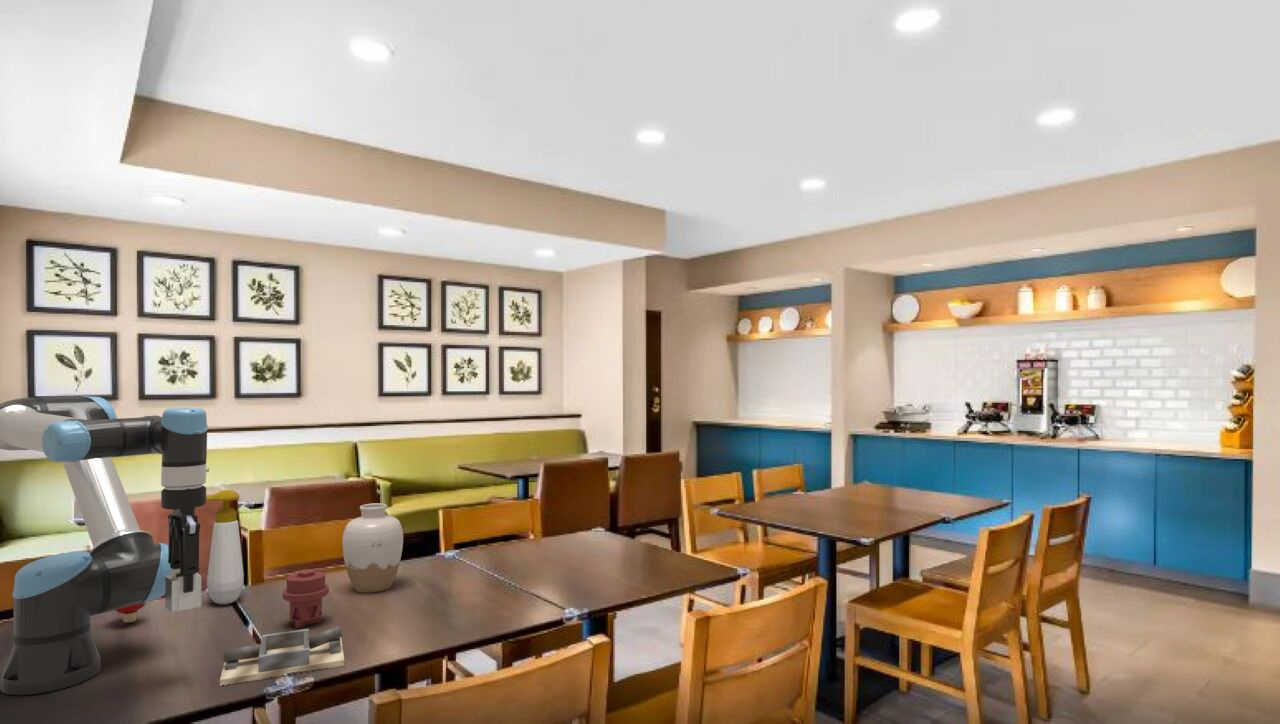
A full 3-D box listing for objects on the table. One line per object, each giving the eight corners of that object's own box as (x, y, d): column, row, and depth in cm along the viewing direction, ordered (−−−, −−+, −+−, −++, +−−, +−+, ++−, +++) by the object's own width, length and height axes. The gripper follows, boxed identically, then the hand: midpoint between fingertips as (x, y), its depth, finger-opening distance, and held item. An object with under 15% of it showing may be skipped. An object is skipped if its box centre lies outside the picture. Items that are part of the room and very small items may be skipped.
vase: (381, 576, 210) (381, 498, 210) (414, 585, 201) (415, 504, 201) (330, 589, 197) (330, 506, 197) (364, 600, 188) (364, 513, 188)
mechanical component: (337, 617, 175) (310, 632, 165) (301, 614, 177) (272, 629, 167) (337, 566, 175) (311, 578, 165) (301, 564, 177) (273, 575, 167)
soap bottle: (195, 599, 189) (196, 489, 189) (240, 592, 195) (240, 485, 195) (200, 612, 179) (200, 495, 179) (246, 604, 185) (247, 491, 185)
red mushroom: (152, 624, 170) (152, 582, 170) (116, 632, 165) (117, 588, 165) (142, 615, 177) (142, 574, 177) (107, 622, 172) (108, 580, 172)
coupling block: (171, 612, 138) (171, 578, 138) (165, 606, 141) (165, 572, 141) (201, 606, 141) (201, 572, 141) (194, 600, 145) (194, 567, 145)
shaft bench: (219, 686, 136) (219, 654, 137) (226, 659, 149) (226, 630, 149) (344, 665, 146) (344, 636, 146) (341, 642, 158) (341, 615, 159)
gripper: (218, 489, 138) (217, 611, 137) (193, 479, 150) (192, 590, 150) (173, 494, 132) (171, 620, 132) (151, 483, 145) (149, 598, 145)
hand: (182, 604), depth 141 cm, fingers closed on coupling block, 5 cm apart
